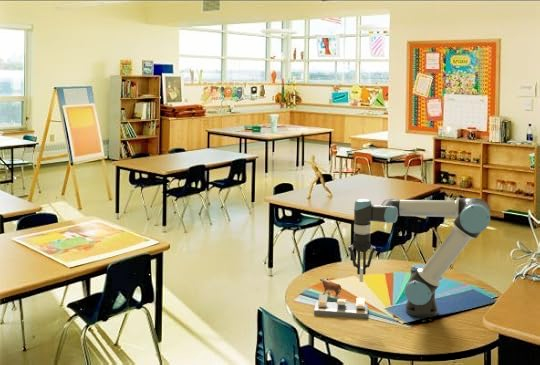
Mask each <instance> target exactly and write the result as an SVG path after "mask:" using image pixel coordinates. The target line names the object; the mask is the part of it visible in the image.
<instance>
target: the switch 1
mask: <svg viewBox="0 0 540 365" xmlns="http://www.w3.org/2000/svg"><path fill="white" fill-rule="evenodd" d="M328 296H329V294H324V295H323V294H318V300H317V301H318V307H327V302H328Z"/></svg>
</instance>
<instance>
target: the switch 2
mask: <svg viewBox="0 0 540 365" xmlns="http://www.w3.org/2000/svg"><path fill="white" fill-rule="evenodd" d="M355 304H356V308H362V309H364V307H365V304H366V298H365V297H356V302H355Z"/></svg>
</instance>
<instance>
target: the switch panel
mask: <svg viewBox="0 0 540 365" xmlns="http://www.w3.org/2000/svg"><path fill="white" fill-rule="evenodd" d="M318 301H319V300H317V301H316V302H315V306H314V309H313V315H314V316H315V315H317V316H327V317H329V316H330V317H331V316H332V317H344V318H358V319H359V318H360V319H368V313H369V312H368V310H369V309H368V308H369V305H368V304H369V303H368V304H367V303H365V307H364V309H362V308H356V303H352V302H351V303H347V302H346V304H345V305H338V304H337V301H336V302H335V301H334V302H333V301H332V302H331V301H327V307H318Z"/></svg>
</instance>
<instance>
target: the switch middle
mask: <svg viewBox="0 0 540 365" xmlns="http://www.w3.org/2000/svg"><path fill="white" fill-rule="evenodd" d="M336 302H337V304H338V305H345V304H346V303H347V299H346V298H337V301H336Z"/></svg>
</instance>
